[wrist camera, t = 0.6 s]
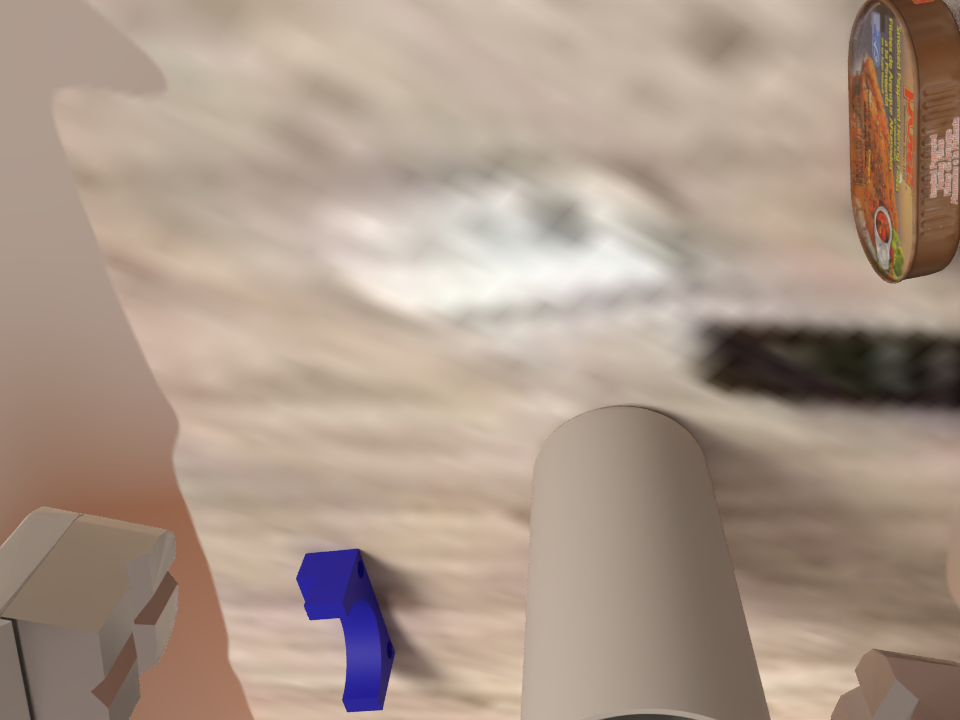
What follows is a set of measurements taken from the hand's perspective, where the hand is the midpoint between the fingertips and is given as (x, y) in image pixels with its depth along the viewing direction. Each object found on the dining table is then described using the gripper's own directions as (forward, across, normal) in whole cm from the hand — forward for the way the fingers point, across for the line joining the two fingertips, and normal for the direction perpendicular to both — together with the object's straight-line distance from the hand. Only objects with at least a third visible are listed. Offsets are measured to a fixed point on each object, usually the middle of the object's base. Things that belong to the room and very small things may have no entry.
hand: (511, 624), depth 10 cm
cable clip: (+43, +8, +47) cm, 64 cm away
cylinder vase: (+43, -10, +29) cm, 53 cm away
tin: (+43, -19, +2) cm, 47 cm away
